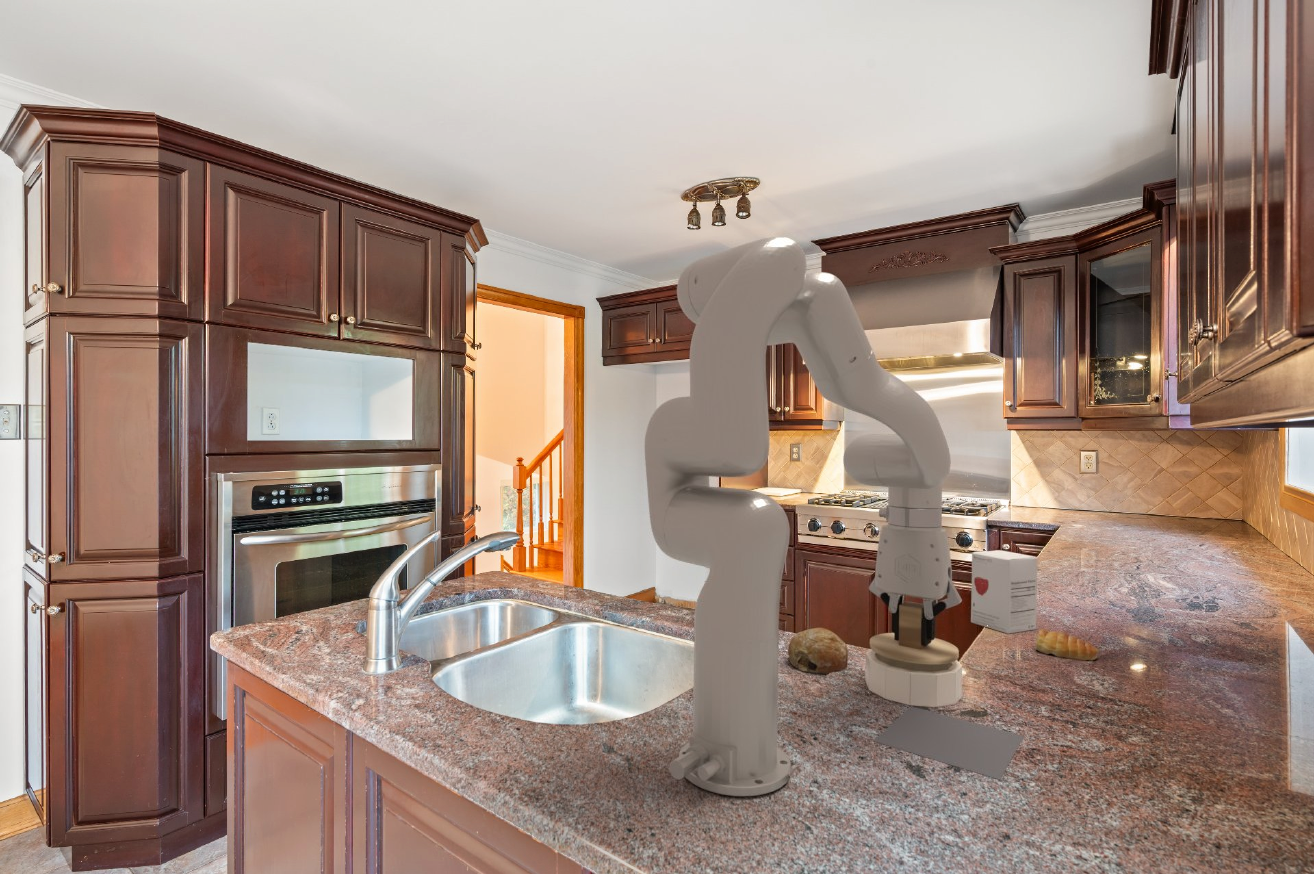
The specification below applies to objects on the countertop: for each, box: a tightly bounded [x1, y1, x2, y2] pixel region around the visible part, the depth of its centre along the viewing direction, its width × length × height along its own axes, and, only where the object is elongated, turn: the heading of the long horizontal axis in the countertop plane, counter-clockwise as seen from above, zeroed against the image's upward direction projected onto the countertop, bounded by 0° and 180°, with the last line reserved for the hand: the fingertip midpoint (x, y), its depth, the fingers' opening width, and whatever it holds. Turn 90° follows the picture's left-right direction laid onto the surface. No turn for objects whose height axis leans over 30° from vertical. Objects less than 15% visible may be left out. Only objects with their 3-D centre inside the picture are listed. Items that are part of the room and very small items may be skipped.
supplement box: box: [970, 549, 1039, 635], centre depth 135 cm, size 9×9×15 cm
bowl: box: [865, 648, 963, 708], centre depth 98 cm, size 13×13×5 cm
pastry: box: [1034, 628, 1099, 661], centre depth 117 cm, size 9×7×4 cm
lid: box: [869, 600, 960, 664], centre depth 98 cm, size 12×12×7 cm
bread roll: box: [787, 627, 849, 675], centre depth 109 cm, size 10×10×8 cm
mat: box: [873, 705, 1025, 781], centre depth 81 cm, size 14×14×1 cm
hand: (913, 639), depth 98 cm, fingers closed on lid, 3 cm apart
